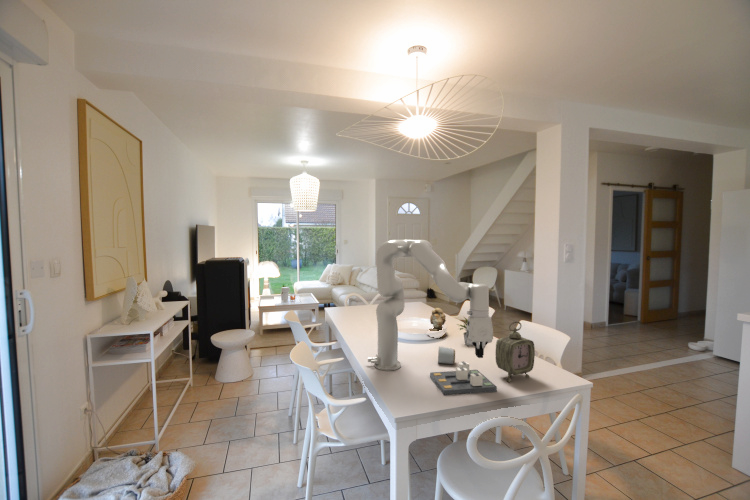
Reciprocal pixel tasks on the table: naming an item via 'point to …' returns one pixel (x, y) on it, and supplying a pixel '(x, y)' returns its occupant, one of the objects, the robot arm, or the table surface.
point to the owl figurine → (438, 320)
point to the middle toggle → (461, 373)
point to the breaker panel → (460, 383)
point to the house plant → (465, 333)
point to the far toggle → (464, 365)
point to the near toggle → (476, 379)
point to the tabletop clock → (515, 354)
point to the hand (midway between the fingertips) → (479, 356)
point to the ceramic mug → (446, 355)
